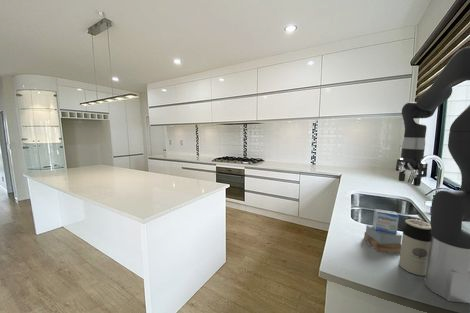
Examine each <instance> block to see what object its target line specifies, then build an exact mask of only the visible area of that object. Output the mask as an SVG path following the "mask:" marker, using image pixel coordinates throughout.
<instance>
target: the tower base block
mask: <svg viewBox="0 0 470 313" xmlns="http://www.w3.org/2000/svg"><path fill="white" fill-rule="evenodd" d="M363 235H364V236H363V240H365V242H367V243H368V244H369V245H370V247H371V248H373V250H374V251H376V252H381V253H394V254H400V251H401V244H402V243H401V244H379V243H378V242H377V241H375V240H374V239H373V238H372V237H370V236H369V235H368V234H366V231H364V234H363Z"/></svg>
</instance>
